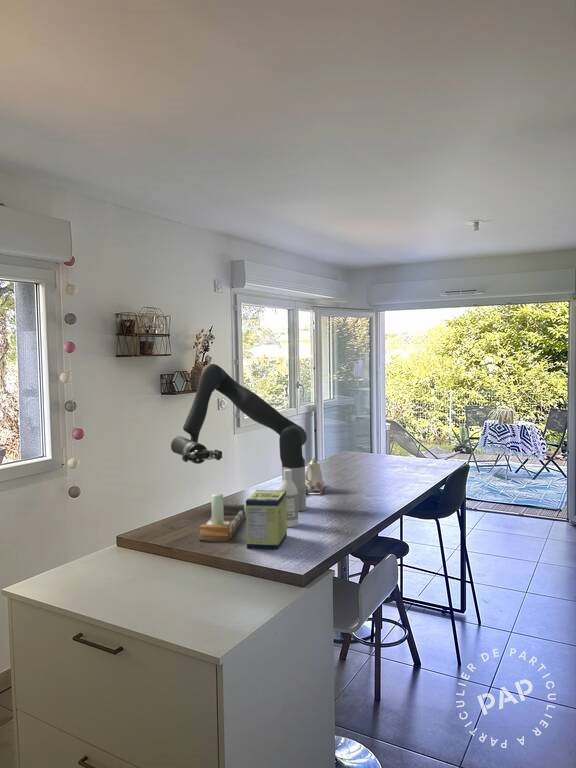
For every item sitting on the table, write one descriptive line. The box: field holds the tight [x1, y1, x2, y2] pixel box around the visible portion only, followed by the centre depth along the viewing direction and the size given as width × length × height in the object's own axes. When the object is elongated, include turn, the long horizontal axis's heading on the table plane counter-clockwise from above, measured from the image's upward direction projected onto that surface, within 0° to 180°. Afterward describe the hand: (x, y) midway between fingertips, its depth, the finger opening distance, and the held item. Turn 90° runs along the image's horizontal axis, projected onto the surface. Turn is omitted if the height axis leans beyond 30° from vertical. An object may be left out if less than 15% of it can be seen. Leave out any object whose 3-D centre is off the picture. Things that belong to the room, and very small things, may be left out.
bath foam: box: [278, 469, 299, 528], centre depth 211 cm, size 7×7×20 cm
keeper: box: [207, 493, 230, 525], centre depth 201 cm, size 6×7×12 cm
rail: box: [198, 504, 246, 542], centre depth 210 cm, size 32×10×4 cm, turn 174°
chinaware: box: [305, 456, 326, 493], centre depth 265 cm, size 28×17×17 cm, turn 154°
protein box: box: [245, 489, 288, 550], centre depth 192 cm, size 10×16×16 cm
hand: (207, 458), depth 210 cm, fingers open, 8 cm apart
